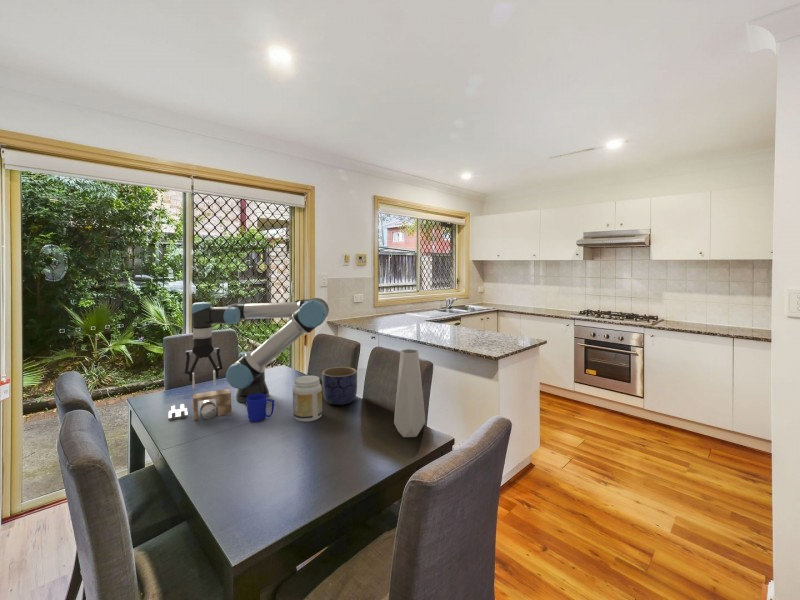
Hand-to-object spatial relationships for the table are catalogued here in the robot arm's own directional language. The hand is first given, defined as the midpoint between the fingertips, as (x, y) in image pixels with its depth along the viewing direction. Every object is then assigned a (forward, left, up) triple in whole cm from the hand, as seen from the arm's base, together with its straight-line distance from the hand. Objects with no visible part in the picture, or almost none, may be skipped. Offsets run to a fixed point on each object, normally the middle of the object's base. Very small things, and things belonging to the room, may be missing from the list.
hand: (204, 386), depth 170 cm
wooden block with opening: (-2, +9, -11) cm, 14 cm away
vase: (-66, +69, -11) cm, 95 cm away
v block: (+11, +2, -11) cm, 15 cm away
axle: (-1, +6, -8) cm, 10 cm away
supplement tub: (-37, +33, -11) cm, 51 cm away
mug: (-19, +26, -11) cm, 34 cm away
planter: (-56, +23, -11) cm, 62 cm away
